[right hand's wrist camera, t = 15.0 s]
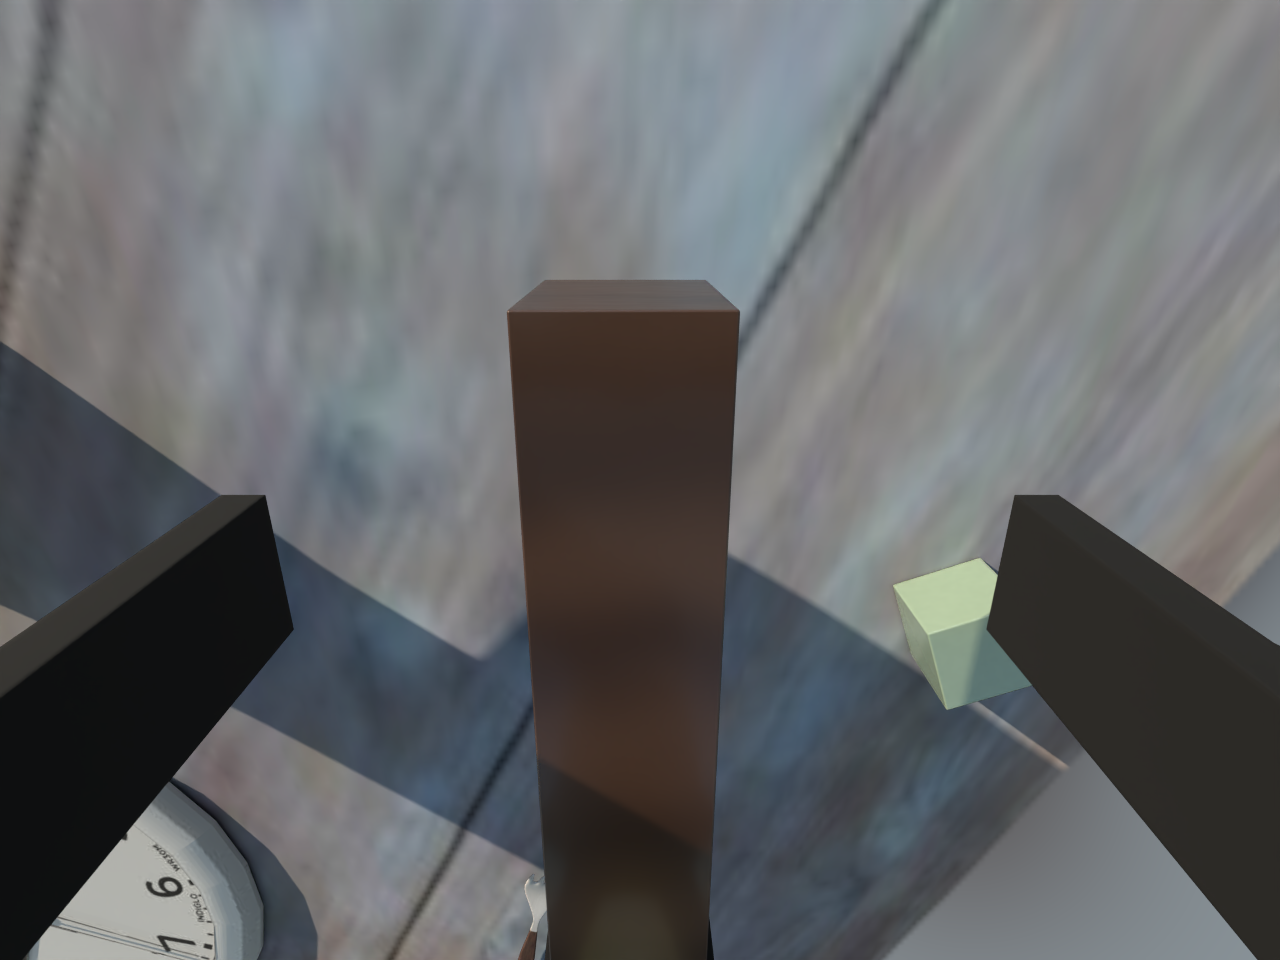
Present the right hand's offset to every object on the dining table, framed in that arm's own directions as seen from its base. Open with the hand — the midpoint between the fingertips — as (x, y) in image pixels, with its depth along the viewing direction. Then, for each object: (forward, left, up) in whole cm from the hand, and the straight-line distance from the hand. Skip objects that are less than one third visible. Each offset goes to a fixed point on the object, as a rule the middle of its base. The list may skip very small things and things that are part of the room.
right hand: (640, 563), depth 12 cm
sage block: (-18, +15, -23) cm, 33 cm away
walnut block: (0, +11, -11) cm, 16 cm away
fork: (+7, +41, -23) cm, 48 cm away
